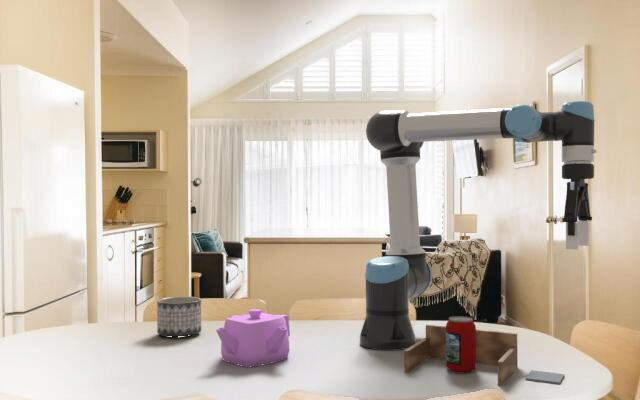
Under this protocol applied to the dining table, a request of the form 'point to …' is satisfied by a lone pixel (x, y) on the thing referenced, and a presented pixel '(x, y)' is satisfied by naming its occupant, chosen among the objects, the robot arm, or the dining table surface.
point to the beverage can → (461, 344)
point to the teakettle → (255, 338)
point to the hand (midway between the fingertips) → (577, 247)
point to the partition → (488, 350)
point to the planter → (179, 316)
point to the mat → (545, 377)
